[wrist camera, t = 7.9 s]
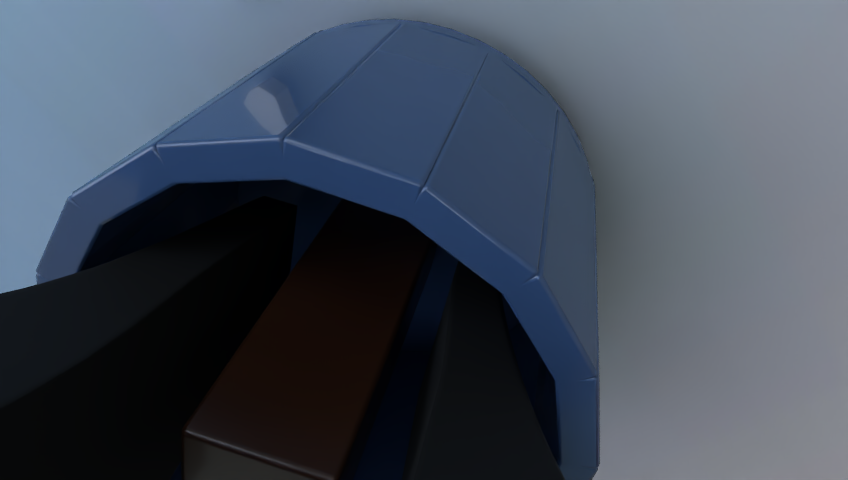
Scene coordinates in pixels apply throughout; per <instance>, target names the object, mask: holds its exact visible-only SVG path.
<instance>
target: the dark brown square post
mask: <svg viewBox="0 0 848 480" xmlns="http://www.w3.org/2000/svg"><path fill="white" fill-rule="evenodd" d="M436 247H437V244H436V243H435V242H434V241H432V240H431V239H430V238H428V237H427V236H426V235H425V234H423V233H422V232H421V231H419V230H418V229H417V228H415V227H414V226H413V225H411V224H410V223H409V222H408V221H406V220H404V219H401V218H398V217H395V216H392V215H389V214H386V213H383V212H380V211H377V210H374V209H371V208H369V207H366V206H363V205H360V204H357V203H354V202H351V201H348V200H345V199H342V200H341V201H340V202H339V204H338V205H337V207H336V208H335V210H334V211H333V212H332V214H331V215H330V217H329V218H328V220H327V221H326V223H325V224H324V225H323V227H322V228H321V230H320V231H319V233H318V234H317V235H316V237H315V238H314V240H313V241H312V243H311V244H310V246H309V247H308V248H307V250H306V251H305V253H304V254H303V256H302V257H301V258H300V260H299V261H298V263H297V264H296V266H295V267H294V269H293V270H292V271H291V273H290V274H289V276H288V277H287V279H286V280H285V281H284V283H283V284H282V286H281V287H280V289H279V290H278V292H277V293H276V294H275V296H274V297H273V299H272V300H271V302H270V303H269V304H268V306H267V307H266V309H265V310H264V312H263V313H262V315H261V316H260V317H259V319H258V320H257V322H256V323H255V325H254V326H253V327H252V329H251V330H250V332H249V333H248V335H247V336H246V338H245V339H244V340H243V342H242V343H241V345H240V346H239V348H238V349H237V350H236V352H235V353H234V355H233V356H232V358H231V359H230V361H229V362H228V363H227V365H226V366H225V368H224V369H223V371H222V372H221V373H220V375H219V376H218V378H217V379H216V381H215V382H214V384H213V385H212V386H211V388H210V389H209V391H208V392H207V394H206V395H205V396H204V398H203V399H202V401H201V402H200V404H199V405H198V407H197V408H196V409H195V411H194V412H193V414H192V415H191V417H190V418H189V419H188V421H187V422H186V424H185V425H184V427H183V428H182V430H181V480H353V478H354V475H355V472H356V470H357V467H358V464H359V462H360V459H361V456H362V453H363V451H364V448H365V445H366V443H367V440H368V437H369V435H370V432H371V429H372V426H373V424H374V421H375V418H376V416H377V413H378V410H379V407H380V405H381V402H382V399H383V397H384V394H385V391H386V389H387V386H388V383H389V380H390V378H391V375H392V372H393V370H394V367H395V364H396V362H397V359H398V356H399V353H400V351H401V348H402V345H403V343H404V340H405V337H406V334H407V332H408V329H409V326H410V324H411V321H412V318H413V316H414V313H415V310H416V307H417V305H418V302H419V299H420V297H421V294H422V291H423V289H424V286H425V283H426V280H427V278H428V275H429V272H430V270H431V266H432V262H433V258H434V255H435V251H436Z"/></svg>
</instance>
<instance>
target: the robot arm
mask: <svg viewBox="0 0 848 480" xmlns="http://www.w3.org/2000/svg"><path fill="white" fill-rule="evenodd" d="M296 215H297V205H294V204H290V203H287V202H284V201H280V200H277V199H274V198H270V197H267V196H262V197H259V198H257V199H255V200H252V201H250V202H248V203H246V204H243V205H241V206H239V207H237V208H235V209H232V210H230V211H228V212H226V213H224V214H222V215H220V216H217V217H215V218H213V219H211V220H209V221H207V222H204V223H202V224H200V225H198V226H195V227H193V228H191V229H189V230H186V231H184V232H182V233H180V234H177V235H175V236H173V237H171V238H168V239H166V240H163V241H161V242H158V243H156V244H153V245H151V246H148V247H146V248H143V249H140V250H138V251H135V252H133V253H130V254H128V255H125V256H122V257H120V258H117V259H115V260H112V261H110V262H107V263H104V264H101V265H98V266H96V267H93V268H90V269H87V270H83V271H80V272H77V273H74V274H71V275H68V276H64V277H61V278H58V279H54V280H51V281H48V282H44V283H41V284H37V285H34V286H30V287H26V288H23V289H19V290H14V291H10V292H6V293H2V294H0V480H170V479H171V477H172V475H173V474H174V472H175V470H176V468H177V467H178V465H179V464H180V462H181V430H182V428H183V427H184V425H185V424H186V422H187V421H188V419H189V418H190V417H191V415H192V414H193V412H194V411H195V409H196V408H197V407H198V405H199V404H200V402H201V401H202V399H203V398H204V396H205V395H206V394H207V392H208V391H209V389H210V388H211V386H212V385H213V384H214V382H215V381H216V379H217V378H218V376H219V375H220V373H221V372H222V371H223V369H224V368H225V366H226V365H227V363H228V362H229V361H230V359H231V358H232V356H233V355H234V353H235V352H236V350H237V349H238V348H239V346H240V345H241V343H242V342H243V340H244V339H245V338H246V336H247V335H248V333H249V332H250V330H251V329H252V327H253V326H254V325H255V323H256V322H257V320H258V319H259V317H260V316H261V315H262V313H263V312H264V310H265V309H266V307H267V306H268V304H269V303H270V302H271V300H272V299H273V297H274V296H275V294H276V293H277V292H278V290H279V289H280V287H281V286H282V284H283V283H284V281H285V280H286V279H287V277H288V276H289V274H290V269H291V260H292V251H293V242H294V233H295V224H296ZM402 480H565V478H564V476H563V474H562V472H561V470H560V468H559V466H558V464H557V462H556V460H555V458H554V456H553V454H552V452H551V450H550V447H549V445H548V443H547V441H546V439H545V436H544V434H543V432H542V430H541V427H540V425H539V422H538V420H537V417H536V415H535V412H534V410H533V407H532V405H531V402H530V399H529V396H528V393H527V391H526V388H525V385H524V382H523V379H522V376H521V373H520V370H519V367H518V363H517V360H516V356H515V353H514V349H513V345H512V342H511V338H510V334H509V330H508V326H507V322H506V317H505V312H504V307H503V301H502V295H501V293H500V292H499V291H498V290H496V289H495V288H494V287H492V286H491V285H490V284H489V283H487V282H486V281H485V280H483V279H482V278H481V277H479V276H478V275H477V274H475V273H474V272H473V271H472V270H470V269H469V268H468V267H466V266H465V265H464V264H462V263H461V262H460V261H458V264H457V267H456V270H455V273H454V277H453V280H452V283H451V287H450V290H449V293H448V297H447V300H446V303H445V307H444V310H443V314H442V317H441V320H440V324H439V327H438V330H437V334H436V337H435V340H434V344H433V347H432V350H431V354H430V357H429V361H428V364H427V367H426V371H425V374H424V377H423V381H422V384H421V387H420V391H419V395H418V400H417V405H416V410H415V415H414V420H413V425H412V430H411V435H410V440H409V445H408V450H407V455H406V460H405V466H404V471H403V476H402Z"/></svg>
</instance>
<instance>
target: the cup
mask: <svg viewBox="0 0 848 480" xmlns="http://www.w3.org/2000/svg"><path fill="white" fill-rule="evenodd" d="M262 196H267V197H270V198H274V199H277V200H280V201H284V202H287V203H290V204H294V205H297V215H296V224H295V233H294V242H293V251H292V260H291V269H290V273H291V271H292V270H293V269H294V267H295V266H296V264H297V263H298V261H299V260H300V258H301V257H302V256H303V254H304V253H305V251H306V250H307V248H308V247H309V246H310V244H311V243H312V241H313V240H314V238H315V237H316V235H317V234H318V233H319V231H320V230H321V228H322V227H323V225H324V224H325V223H326V221H327V220H328V218H329V217H330V215H331V214H332V212H333V211H334V210H335V208H336V207H337V205H338V204H339V202H340V201H341V200H342V199H345V200H348V201H351V202H354V203H357V204H360V205H363V206H366V207H369V208H371V209H374V210H377V211H380V212H383V213H386V214H389V215H392V216H395V217H398V218H401V219H404V220H406V221H408V222H409V223H410V224H411V225H413V226H414V227H415V228H417V229H418V230H419V231H421V232H422V233H423V234H425V235H426V236H427V237H428V238H430V239H431V240H432V241H434V242H435V243H436V244H437V247H436V251H435V255H434V258H433V262H432V266H431V270H430V272H429V275H428V278H427V280H426V283H425V286H424V289H423V291H422V294H421V297H420V299H419V302H418V305H417V307H416V310H415V313H414V316H413V318H412V321H411V324H410V326H409V329H408V332H407V334H406V337H405V340H404V343H403V345H402V348H401V351H400V353H399V356H398V359H397V362H396V364H395V367H394V370H393V372H392V375H391V378H390V380H389V383H388V386H387V389H386V391H385V394H384V397H383V399H382V402H381V405H380V407H379V410H378V413H377V416H376V418H375V421H374V424H373V426H372V429H371V432H370V435H369V437H368V440H367V443H366V445H365V448H364V451H363V453H362V456H361V459H360V462H359V464H358V467H357V470H356V472H355V475H354V478H353V480H402V476H403V471H404V466H405V460H406V455H407V450H408V445H409V440H410V435H411V430H412V425H413V420H414V415H415V410H416V405H417V400H418V395H419V391H420V387H421V384H422V381H423V377H424V374H425V371H426V367H427V364H428V361H429V357H430V354H431V350H432V347H433V344H434V340H435V337H436V334H437V330H438V327H439V324H440V320H441V317H442V314H443V310H444V307H445V303H446V300H447V297H448V293H449V290H450V287H451V283H452V280H453V277H454V273H455V270H456V267H457V264H458V261H460V262H461V263H462V264H464V265H465V266H466V267H468V268H469V269H470V270H472V271H473V272H474V273H475V274H477V275H478V276H479V277H481V278H482V279H483V280H485V281H486V282H487V283H489V284H490V285H491V286H492V287H494V288H495V289H496V290H498V291H499V292H500V293H501V295H502V301H503V307H504V312H505V317H506V322H507V326H508V330H509V334H510V338H511V342H512V345H513V349H514V353H515V356H516V360H517V363H518V367H519V370H520V373H521V376H522V379H523V382H524V385H525V388H526V391H527V393H528V396H529V399H530V402H531V405H532V407H533V410H534V412H535V415H536V417H537V420H538V422H539V425H540V427H541V430H542V432H543V434H544V436H545V439H546V441H547V443H548V445H549V447H550V450H551V452H552V454H553V456H554V458H555V460H556V462H557V464H558V466H559V468H560V470H561V472H562V474H563V476H564V478H565V480H591V479H592V478H593V476H594V475H595V473H596V472H597V470H598V466H599V464H600V385H599V336H598V292H597V248H596V204H595V185H594V180H593V178H592V176H591V173H590V169H589V165H588V160H587V158H586V155H585V153H584V150H583V148H582V145H581V143H580V140H579V138H578V135H577V134H576V132H575V130H574V128H573V127H572V125H571V123H570V121H569V120H568V118H567V116H566V115H565V113H564V111H563V110H562V109H561V108H560V106H559V105H558V104H557V103H556V101H555V100H554V99H553V97H552V96H551V95H550V94H549V92H548V91H547V90H546V89H545V88H544V87H543V86H542V85H541V84H540V83H539V82H538V81H537V80H536V79H535V78H534V77H533V76H532V75H531V74H530V73H529V72H528V71H526V70H525V69H524V68H522V67H521V66H520V65H518V64H517V63H516V62H514V61H513V60H512V59H510V58H509V57H508V56H506V55H505V54H503V53H502V52H500V51H498V50H496V49H494V48H493V47H491V46H489V45H487V44H485V43H484V42H482V41H480V40H478V39H476V38H473V37H471V36H468V35H465V34H463V33H460V32H458V31H455V30H453V29H450V28H446V27H442V26H437V25H433V24H429V23H425V22H419V21H409V20H400V19H380V20H364V21H359V22H353V23H348V24H342V25H339V26H336V27H333V28H330V29H327V30H322V31H319V32H318V33H313V34H312V35H310V36H308V37H307V38H305V39H304V40H302V41H300V42H298V43H297V44H295V45H293V46H292V47H290V48H289V49H287V50H286V51H284V52H283V53H281V54H280V55H278V56H276V57H275V58H273V59H272V60H270V61H268V62H267V63H265V64H264V65H262V66H260V67H259V68H257V69H256V70H254V71H253V72H251V73H250V74H248V75H247V76H245V77H244V78H242V79H241V80H239V81H238V82H236V83H235V84H233V85H232V86H230V87H229V88H227V89H226V90H224V91H223V92H221V93H220V94H218V95H217V96H215V97H214V98H212V99H211V100H209V101H208V102H206V103H205V104H203V105H202V106H200V107H199V108H197V109H196V110H194V111H193V112H191V113H190V114H188V115H187V116H186V117H184V118H183V119H181V120H180V121H178V122H177V123H175V124H174V125H172V126H171V127H169V128H168V129H166V130H165V131H163V132H162V133H160V134H159V135H157V136H156V137H154V138H153V139H151V140H150V141H148V142H147V143H145V144H144V145H142V146H141V147H139V148H138V149H136V150H135V151H133V152H132V153H130V154H129V155H127V156H126V157H124V158H123V159H121V160H120V161H119V162H117V163H116V164H114V165H113V166H111V167H110V168H108V169H107V170H105V171H104V172H102V173H101V174H99V175H98V176H96V177H95V178H93V179H92V180H90V181H89V182H87V183H86V184H84V185H83V186H81V187H80V188H78V189H77V190H75V191H74V192H73V193H72V195H71V196H69V197H68V199H67V201H66V203H65V205H64V208H63V210H62V212H61V215H60V217H59V219H58V221H57V224H56V226H55V228H54V231H53V233H52V235H51V237H50V240H49V242H48V244H47V247H46V249H45V251H44V254H43V256H42V258H41V260H40V263H39V265H38V267H37V270H36V272H37V274H36V280H37V284H41V283H44V282H48V281H51V280H54V279H58V278H61V277H64V276H68V275H71V274H74V273H77V272H80V271H83V270H87V269H90V268H93V267H96V266H98V265H101V264H104V263H107V262H110V261H112V260H115V259H117V258H120V257H122V256H125V255H128V254H130V253H133V252H135V251H138V250H140V249H143V248H146V247H148V246H151V245H153V244H156V243H158V242H161V241H163V240H166V239H168V238H171V237H173V236H175V235H177V234H180V233H182V232H184V231H186V230H189V229H191V228H193V227H195V226H198V225H200V224H202V223H204V222H207V221H209V220H211V219H213V218H215V217H217V216H220V215H222V214H224V213H226V212H228V211H230V210H232V209H235V208H237V207H239V206H241V205H243V204H246V203H248V202H250V201H252V200H255V199H257V198H259V197H262ZM170 480H181V462H180V464H179V465H178V467H177V468H176V470H175V472H174V474H173V475H172V477H171V479H170Z"/></svg>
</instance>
